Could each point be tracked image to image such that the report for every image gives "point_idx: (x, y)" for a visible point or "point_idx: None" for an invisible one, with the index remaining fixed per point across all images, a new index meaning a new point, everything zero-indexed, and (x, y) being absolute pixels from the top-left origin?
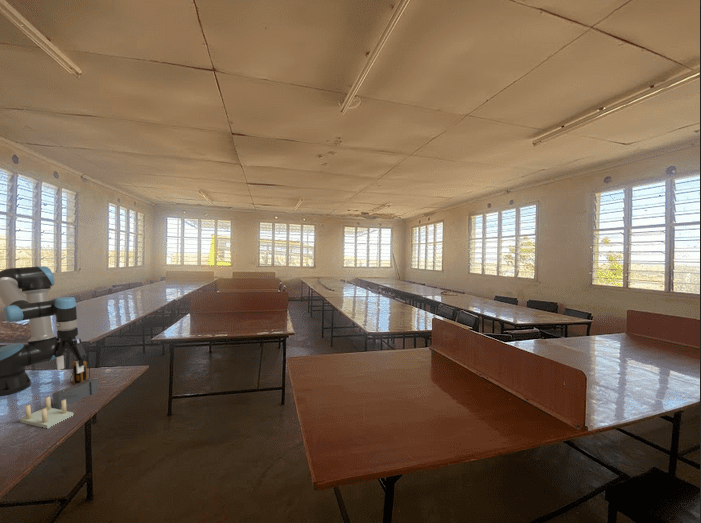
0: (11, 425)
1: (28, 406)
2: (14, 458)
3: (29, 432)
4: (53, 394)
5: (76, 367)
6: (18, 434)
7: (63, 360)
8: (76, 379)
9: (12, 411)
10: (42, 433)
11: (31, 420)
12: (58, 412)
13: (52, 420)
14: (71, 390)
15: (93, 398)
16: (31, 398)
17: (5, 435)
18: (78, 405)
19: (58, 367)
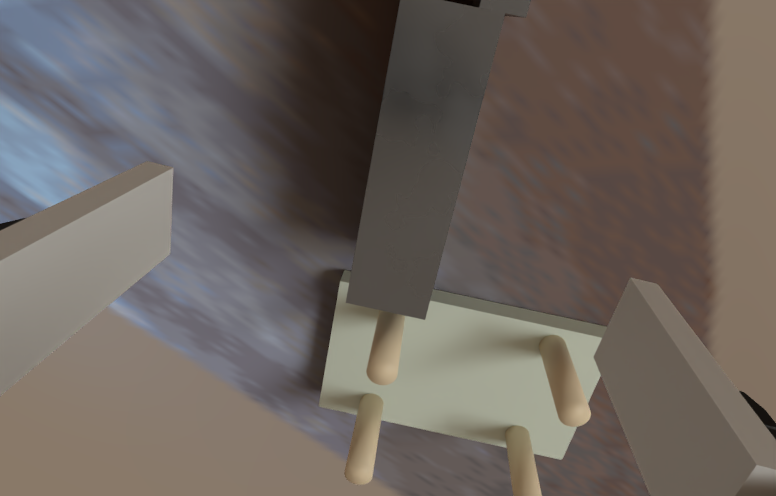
0: (312, 416)
1: (370, 476)
2: None
3: (484, 467)
4: (358, 303)
5: (630, 433)
6: (442, 479)
7: (78, 226)
8: None
9: (134, 293)
10: (568, 475)
11: (410, 418)
12: (503, 342)
13: (548, 419)
14: (450, 215)
15: (574, 81)
16: (38, 125)
17: (383, 484)
18: (531, 201)
19: (146, 266)
